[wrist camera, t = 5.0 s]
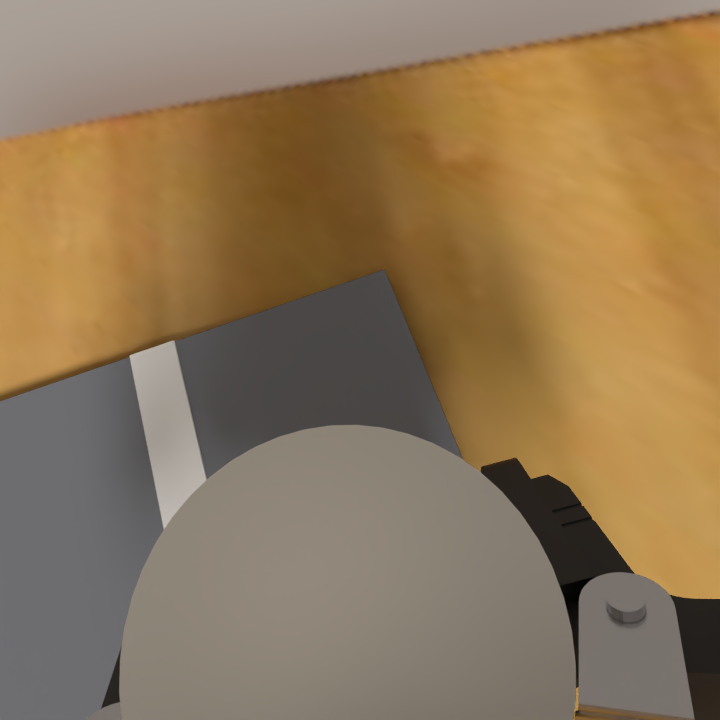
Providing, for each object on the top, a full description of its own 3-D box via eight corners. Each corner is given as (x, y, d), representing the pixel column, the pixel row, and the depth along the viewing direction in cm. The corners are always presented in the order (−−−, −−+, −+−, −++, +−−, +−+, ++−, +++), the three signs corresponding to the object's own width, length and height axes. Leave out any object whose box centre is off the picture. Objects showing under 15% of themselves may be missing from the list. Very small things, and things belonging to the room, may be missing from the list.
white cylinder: (440, 496, 17) (465, 370, 8) (514, 687, 15) (667, 828, 6) (271, 556, 17) (88, 503, 7) (325, 758, 15) (167, 1024, 6)
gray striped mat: (385, 276, 20) (384, 268, 20) (702, 1050, 13) (715, 1071, 12) (-135, 455, 19) (-151, 451, 19) (-131, 1390, 12) (-158, 1428, 11)
